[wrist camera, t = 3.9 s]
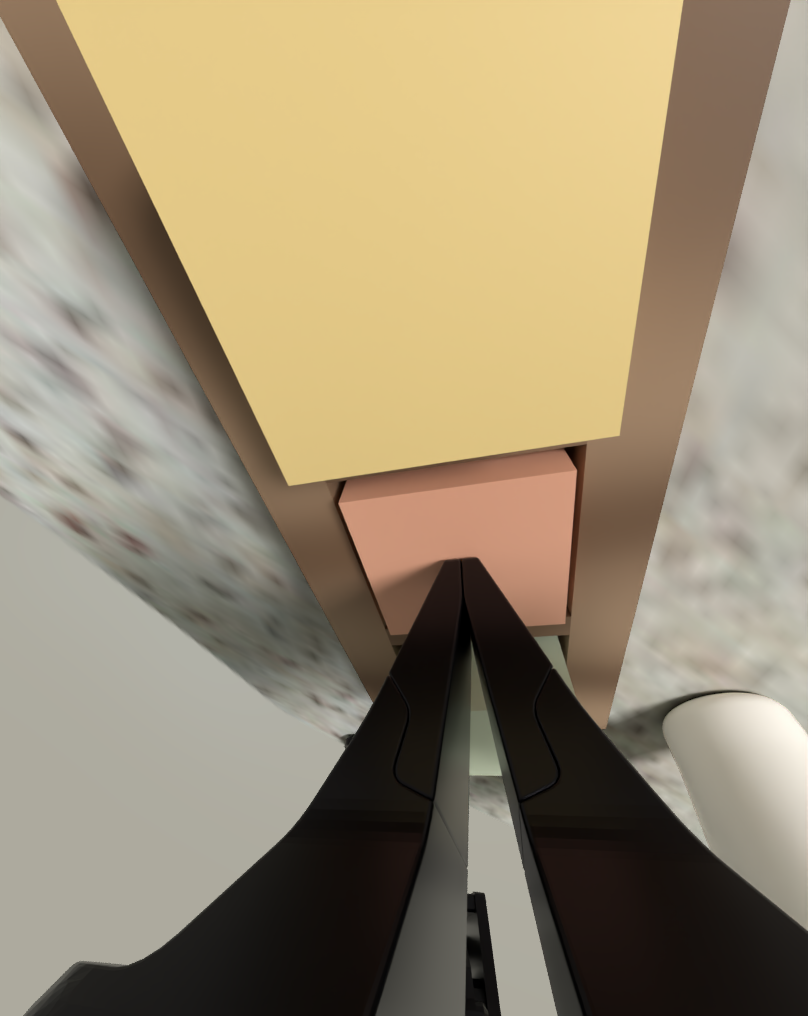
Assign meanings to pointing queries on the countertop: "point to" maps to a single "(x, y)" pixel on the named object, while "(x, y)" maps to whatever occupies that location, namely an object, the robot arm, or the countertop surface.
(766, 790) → the white tall cylinder
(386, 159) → the ochre key
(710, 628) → the countertop surface
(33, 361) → the countertop surface
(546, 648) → the sage key
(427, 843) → the robot arm
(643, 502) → the brown wooden slotted tray
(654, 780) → the countertop surface
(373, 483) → the terracotta key
